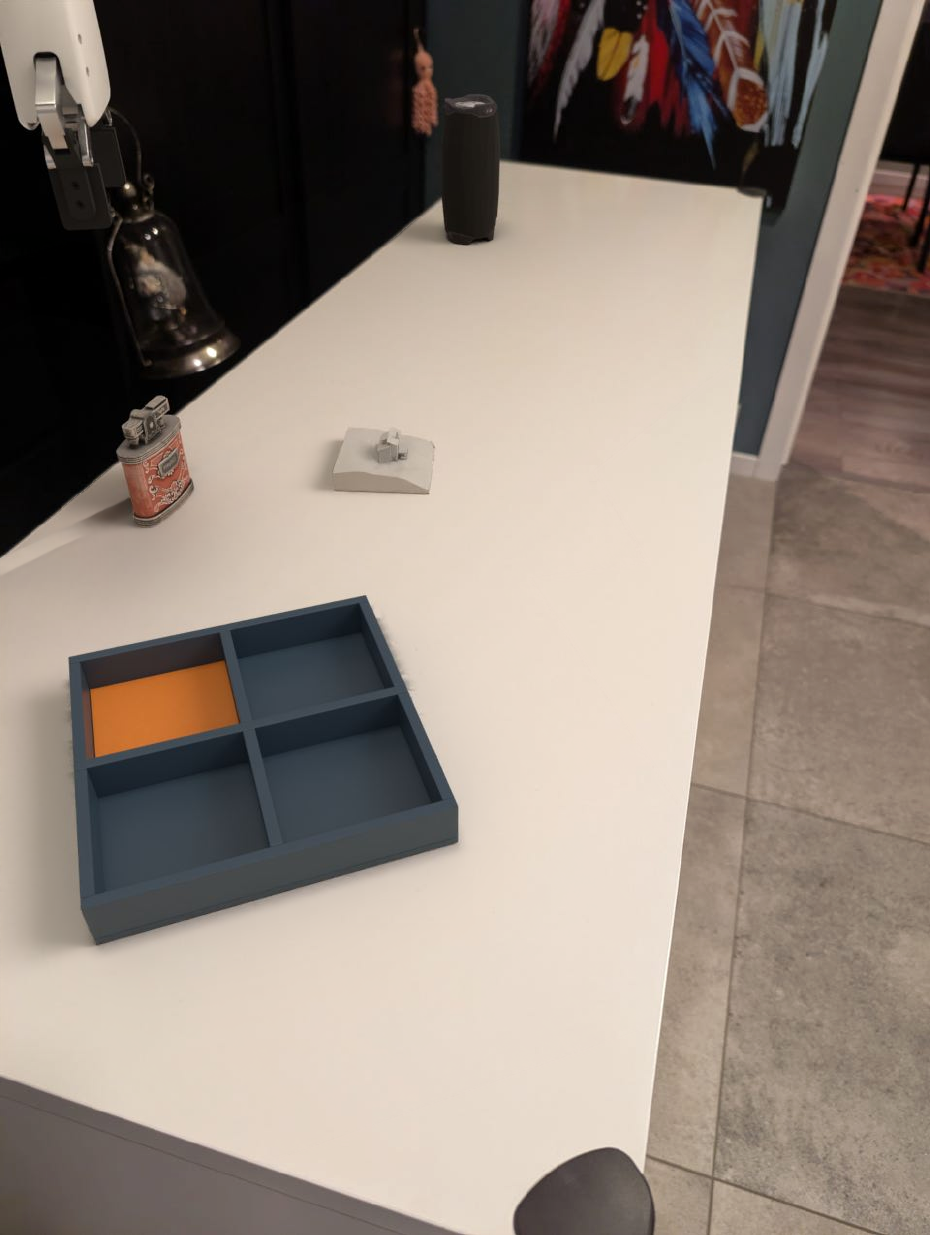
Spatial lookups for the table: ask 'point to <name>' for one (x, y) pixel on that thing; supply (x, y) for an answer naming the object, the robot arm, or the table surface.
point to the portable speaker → (470, 168)
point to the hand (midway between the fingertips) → (97, 206)
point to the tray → (246, 766)
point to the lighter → (154, 463)
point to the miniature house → (383, 462)
